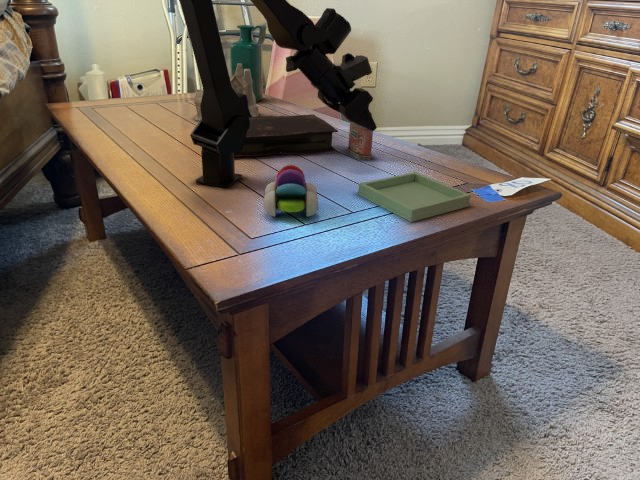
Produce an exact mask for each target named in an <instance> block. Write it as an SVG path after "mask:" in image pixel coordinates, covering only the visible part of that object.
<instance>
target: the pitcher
mask: <svg viewBox="0 0 640 480" xmlns="http://www.w3.org/2000/svg"><path fill="white" fill-rule="evenodd" d="M236 28H237V29H239V39H238V40H237V41H234V42H232V43H231V44H230V46H229V58H230V59H229V61H230V62H229V63H230V77H233V76H234V75H235V74H236V68H237V65H238V64H242V68H243V75H242V76H243V77H244V69H250V71H251V78H252V81H253V82H252V87H253V93H254V95H255V100H256V103H258V102H260V101H261V100H263V98H264V94H263V93H264V79H263V78H264V77H263V74H264V73H263V70H264V69H263V68H264V66H263V65H264V64H263V44H264V43H265V39H266V35H267V34H266V33H267V26H266V24H260V25H256V26H254V25H251V24H238V25H236ZM254 31H255V32H256V31H259V32H258V39H257V41H255V40H254V39H253V32H254Z"/></svg>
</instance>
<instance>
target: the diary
mask: <svg viewBox="0 0 640 480" xmlns="http://www.w3.org/2000/svg"><path fill="white" fill-rule="evenodd" d="M249 119H250V128H249V130H248V131H247V134H246V138H245V142H244V146H243V150H242V151H239V152H235V153H234V157H259V156H260V157H261V156H270V155H279V154H281V155H282V154H284V155H285V154H286V155H314V154H315V155H316V154H323V153H333V152H334V153H335V152H336V153H337V152H338V150H337V149H336V148H335V147H334V146H333V134H334V133H339V130H338V129H337V128H336V127H334V126H332V125H331V124H330V123H328V122H327V121H326V120H325V119H322V118H321V117H318V116H317V115H316V114H299V115H298V114H297V115H259V116H257V117H249ZM217 138H218V139H220V137H217Z"/></svg>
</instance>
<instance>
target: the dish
mask: <svg viewBox="0 0 640 480" xmlns="http://www.w3.org/2000/svg"><path fill="white" fill-rule="evenodd" d="M357 191H358V192H357V195H358V196H360V197H363V198H364V199H365V200H368V201H369V202H372V203H374V204H375V205H377V206H379V207H381V208H383V209H385V210H387V211H389V212H391V213H393V214H394V215H396V216H398V217H400V218H402V219H403V220H406V221H408V222H410V223H413V222H416V221H420V220H424V219H428V218H431V217H435V216H438V215H443V214H446V213H449V212H453V211H457V210H460V209H465V208H468V207H470V203H471V197H472V195H471V194H469V193H467V192H466V191H465V192H464V191H463V190H460V189H458V188H455V187H452V186H450V185H449V184H448V185H447V184H445V183H443V182H441V181H438V180H436V179H434V178H431V177H428V176H427V175H424V174H421V173H419V172H417V171H413V172H408V173H403V174H398V175H393V176H388V177H384V178H379V179H374V180H369V181H364V182H360V183H358V190H357Z"/></svg>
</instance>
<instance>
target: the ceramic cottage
mask: <svg viewBox="0 0 640 480" xmlns="http://www.w3.org/2000/svg"><path fill="white" fill-rule="evenodd" d="M242 75H243V68H242V64H238V65H237V68H236V74H235V75H234V76H233V77H231V76H229V77H230V81H231V85H232V87H233V89H234V90H235V92H237V93H241V94H245V95H246V96H247V99H248V108H249V111H250V113H251V115H252V117H257V116H260V109H259V106H258V105H257V102H256V100H255V95H254V93H253V87H252V82H253V81H252V78H251V71H250V69H244V77H243V76H242ZM202 96H203V89H199V88H198V89H196V90H195V95H194V99H193V104H194V105H195V110H196V114H195V121H198V122H199V121H200V120H201V119H202V117H201V108H200V105H201V100H202Z"/></svg>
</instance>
